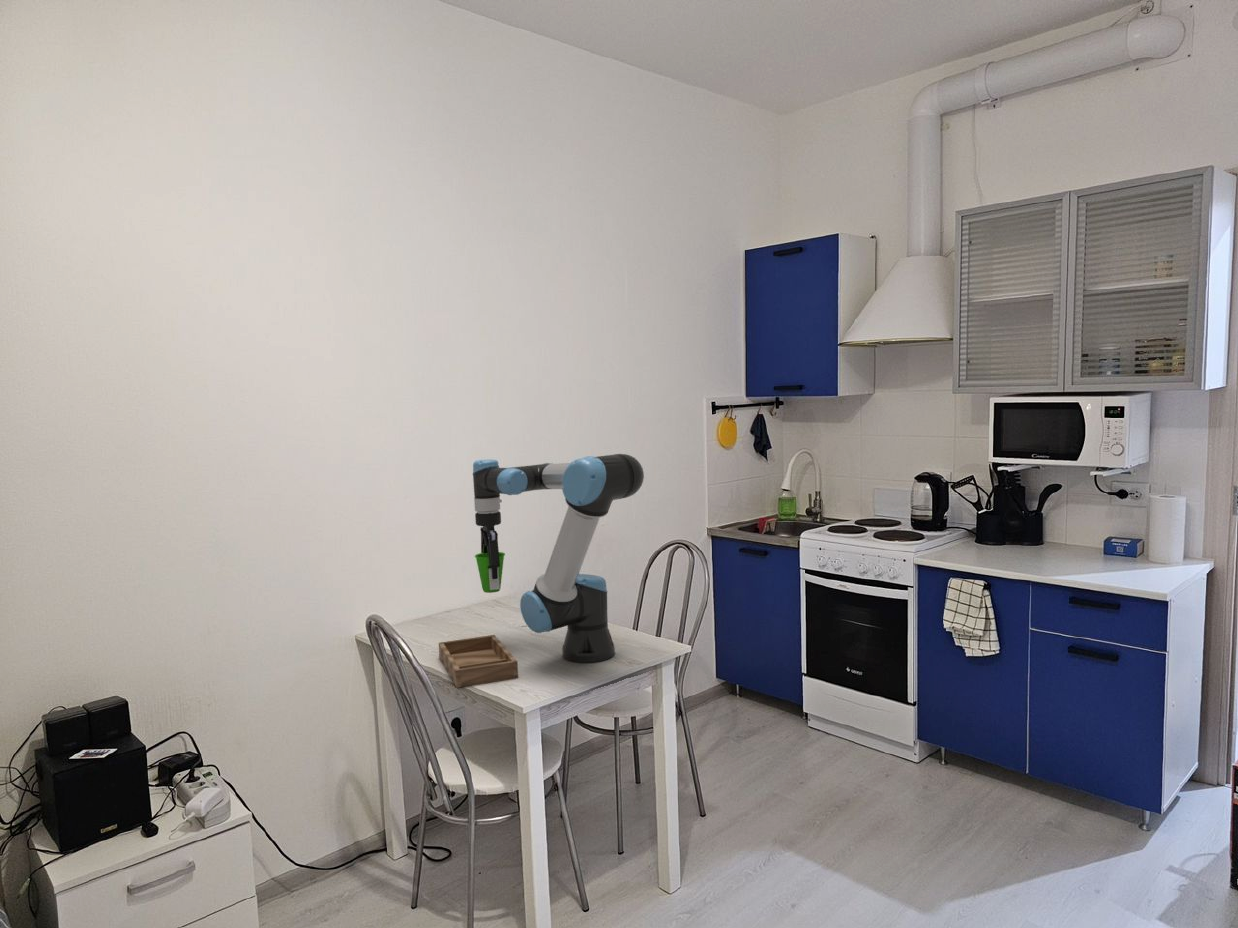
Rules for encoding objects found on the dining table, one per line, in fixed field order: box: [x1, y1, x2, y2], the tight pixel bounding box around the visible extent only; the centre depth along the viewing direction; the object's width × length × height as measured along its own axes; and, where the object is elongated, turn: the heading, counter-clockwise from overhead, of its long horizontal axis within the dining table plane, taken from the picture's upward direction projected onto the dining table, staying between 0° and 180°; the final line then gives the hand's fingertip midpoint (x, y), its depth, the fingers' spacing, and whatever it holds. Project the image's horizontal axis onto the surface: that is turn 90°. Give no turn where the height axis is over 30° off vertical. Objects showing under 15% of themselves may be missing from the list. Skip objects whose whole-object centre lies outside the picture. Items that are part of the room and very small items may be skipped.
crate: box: [438, 634, 519, 689], centre depth 227 cm, size 26×16×4 cm, turn 22°
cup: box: [474, 551, 506, 594], centre depth 244 cm, size 9×9×11 cm
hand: (491, 585), depth 245 cm, fingers closed on cup, 9 cm apart
